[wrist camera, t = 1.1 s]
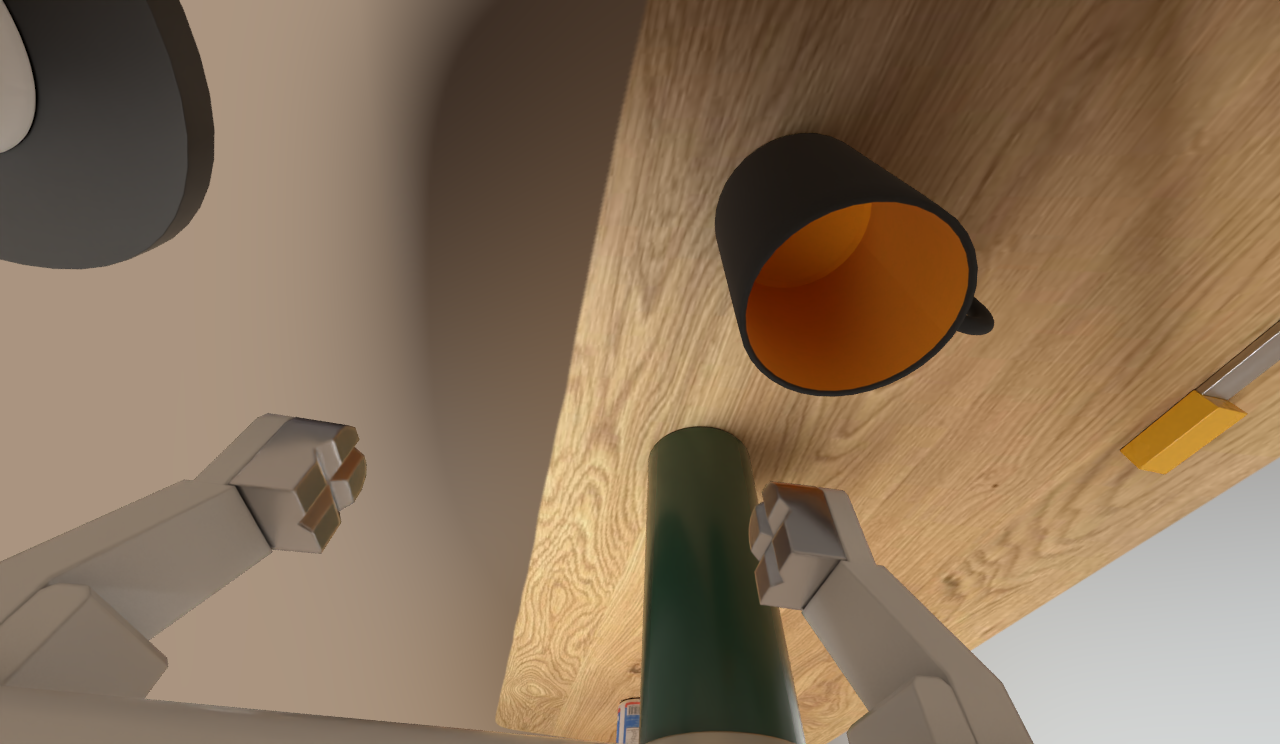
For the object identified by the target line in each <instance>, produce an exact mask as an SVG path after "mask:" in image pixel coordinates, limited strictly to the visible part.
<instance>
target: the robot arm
mask: <svg viewBox="0 0 1280 744" xmlns="http://www.w3.org/2000/svg"><path fill="white" fill-rule="evenodd" d="M35 103H36V100H35V85H34V79H33V74H32V69H31V66H30V62H29V59H28V56H27V53H26V50H25V47H24V44H23V42H22V39H21V37H20V34H19V32H18V30H17V28H16V25H15V23H14V21H13V19H12V17H11V15H10V13H9V11H8V9H7V8H6V6H5V4H4V2H3V0H0V153H2V152H5V151H7V150H9V149H11V148H13V147H14V146H16V145H17V144H18V143H19V142H20V141H21V140H22V139H23V138H24V137H25V136H26V134H27V133H28V131H29V129H30V127H31V124H32V121H33V118H34V113H35ZM358 441H359V437H358V434H357V431H356V428H355V427H352V426H349V425H342V424H336V423H330V422H323V421H317V420H311V419H305V418H299V417H290V416H283V415H277V414H270V413H267V414H265V415H263V416H260V417H258V418H257V419H256V420H255V421H254V422H252V423H251V424H250V425H249V426H248V427H247V428H246V429H245V430H244V431H243V432H242V433H241V434H240V435H239V436H238V437H237V438H236V439H235V440H234V441H233V442H232V443H231V444H230V445H229V446H228V447H227V448H226V449H225V450H224V451H223V452H222V453H221V454H220V455H219V456H218V457H217V458H216V459H215V460H214V461H213V462H212V463H211V464H209V465H208V467H207V468H206V469H204V471H202V472H201V473H200V474H199V475H198V476H197V477H196V478H195V479H194V480H182V481H180V482H178V483H175V484H173V485H171V486H169V487H166V488H164V489H162V490H160V491H157V492H155V493H153V494H151V495H149V496H146V497H144V498H142V499H139V500H137V501H135V502H133V503H130V504H128V505H126V506H124V507H121V508H119V509H117V510H115V511H113V512H110V513H108V514H106V515H104V516H101V517H99V518H97V519H95V520H92V521H90V522H88V523H86V524H83V525H81V526H79V527H77V528H75V529H72V530H70V531H68V532H66V533H64V534H61V535H59V536H57V537H55V538H52V539H50V540H48V541H46V542H43V543H41V544H39V545H37V546H34V547H32V548H30V549H28V550H25V551H23V552H21V553H19V554H16V555H14V556H12V557H10V558H7V559H5V560H3V561H1V562H0V744H621V743H610V742H600V741H589V740H578V739H568V738H557V737H545V736H536V735H525V734H514V733H503V732H493V731H482V730H470V729H461V728H450V727H439V726H429V725H418V724H407V723H396V722H385V721H375V720H364V719H353V718H343V717H332V716H321V715H311V714H300V713H289V712H277V711H267V710H257V709H247V708H235V707H225V706H214V705H204V704H192V703H181V702H172V701H161V700H150V699H144V698H145V697H146V696H147V694H148V693H149V692H150V690H151V689H152V688H153V686H154V685H155V684H156V682H157V681H158V680H159V678H160V677H161V676H162V674H163V673H164V672H165V670H166V669H167V667H168V661H167V657H166V656H164V654H162V653H161V652H160V651H159V650H158V649H157V648H156V647H155V646H154V645H153V644H152V643H150V642H149V640H150V639H152V638H153V637H154V636H156V635H157V634H158V633H160V632H161V631H163V630H164V629H166V628H167V627H168V626H170V625H171V624H173V623H174V622H175V621H177V620H178V619H179V618H181V617H182V616H183V615H185V614H187V613H188V612H189V611H191V610H192V609H194V608H195V607H196V606H198V605H199V604H201V603H202V602H203V601H205V600H206V599H207V598H209V597H210V596H212V595H213V594H215V593H216V592H217V591H219V590H220V589H221V588H223V587H224V586H226V585H227V584H229V583H230V582H231V581H233V580H234V579H235V578H237V577H238V576H240V575H241V574H243V573H244V572H245V571H247V570H248V569H250V568H251V567H252V566H254V565H255V564H257V563H258V562H259V561H261V560H262V559H264V558H265V557H266V556H268V555H269V554H271V553H272V550H271V549H273V550H284V551H295V552H308V553H319V554H321V553H322V552H323V550H324V549H325V547H326V545H327V544H328V542H329V541H330V539H331V538H332V536H333V535H334V533H335V532H336V530H337V528H338V527H339V525H340V524H341V518H340V512H339V511H341V510H342V509H344V508H346V507H347V506H349V505H351V504H352V503H354V502H355V500H356V498H357V497H358V495H359V493H360V492H361V490H362V487H363V484H364V481H365V478H366V466H367V465H366V460H365V457H364V455H363V454H362V453H361V452H360V451H359V450H357V449H356V448H355V447H354V446H355V445H356V444H357V442H358ZM762 495H763V500H764V501H763V502H762V503H760V504H758V505H756V506H755V508H754V510H753V512H752V515H751V518H750V524H749V543H750V549H751V552H752V553H753V555H754V556H755V557H756V558H757V559H758V561H759V562H760V563H759V564H758V566H757V568H756V570H755V572H754V573H755V579H756V584H757V590H758V596H759V601H760V605H767V606H774V607H781V608H788V609H795V610H802V612H801V613H802V614H803V616H804V617H805V619H806V620H807V622H808V623H809V625H810V626H811V627H812V629H813V630H814V632H815V633H816V635H817V636H818V638H819V639H820V641H821V642H822V643H823V645H824V646H825V648H826V649H827V651H828V652H829V654H830V655H831V657H832V658H833V660H834V661H835V662H836V664H837V665H838V667H839V668H840V670H841V671H842V673H843V674H844V676H845V677H846V678H847V680H848V681H849V683H850V684H851V686H852V687H853V689H854V690H855V692H856V693H857V694H858V696H859V697H860V699H861V700H862V702H863V703H864V705H865V706H866V708H867V709H868V711H869V712H868V713H866V714H865V715H864V716H863V717H861V718H860V719H859V720H858V721H856V722H855V723H854V724H852V725H851V727H850V728H849V730H848V731H847V737H848V741H849V744H1033V741H1032V740H1031V738H1030V736H1029V734H1028V732H1027V730H1026V728H1025V726H1024V724H1023V722H1022V720H1021V718H1020V716H1019V714H1018V712H1017V710H1016V708H1015V707H1014V705H1013V703H1012V701H1011V699H1010V697H1009V695H1008V693H1007V691H1006V689H1005V687H1004V685H1003V683H1002V682H1001V681H1000V680H999V679H998V678H997V677H996V676H995V675H994V674H993V673H992V672H991V671H990V670H989V669H988V668H987V667H986V666H985V665H984V664H983V663H982V662H981V661H980V660H979V659H978V658H977V657H976V656H975V655H974V654H973V653H972V652H971V651H970V650H969V649H968V648H967V647H966V646H965V645H964V644H963V643H962V642H961V641H960V640H959V639H958V638H956V637H955V636H954V635H953V634H952V633H951V632H950V631H949V630H948V629H947V628H946V627H945V626H944V625H943V624H942V623H941V622H940V621H939V620H938V619H937V618H936V617H935V616H934V615H933V614H932V613H931V612H930V611H929V610H928V609H927V608H926V607H925V606H924V605H923V604H922V603H921V602H920V601H919V600H918V599H917V598H916V597H915V596H914V595H913V594H912V593H911V592H910V591H909V590H908V589H907V588H906V587H905V586H904V585H903V584H902V583H900V582H899V581H898V580H897V579H896V578H895V577H894V576H893V575H892V574H891V573H890V572H889V571H888V570H887V569H886V568H885V567H884V566H881V565H876V563H875V561H874V558H873V556H872V553H871V551H870V548H869V546H868V543H867V541H866V538H865V536H864V534H863V531H862V529H861V526H860V524H859V521H858V519H857V516H856V514H855V511H854V509H853V506H852V504H851V501H850V499H849V496H848V495H847V494H846V493H845V491H844V490H837V489H829V488H821V487H818V488H817V487H816V486H808V485H799V484H791V483H783V482H774V481H770V482H769V483H767V484H766V486H765V487H764V489H763V491H762Z"/></svg>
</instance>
